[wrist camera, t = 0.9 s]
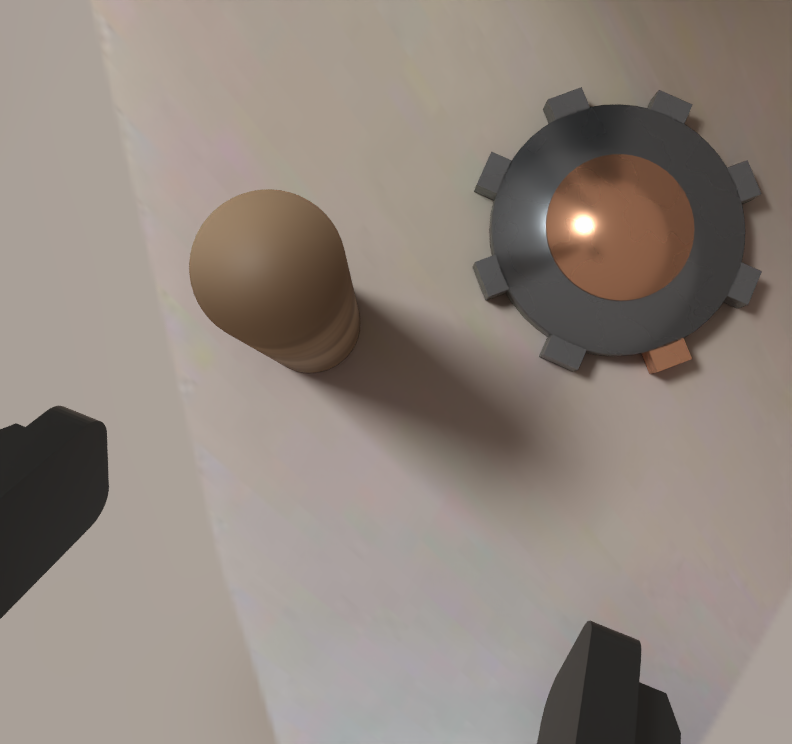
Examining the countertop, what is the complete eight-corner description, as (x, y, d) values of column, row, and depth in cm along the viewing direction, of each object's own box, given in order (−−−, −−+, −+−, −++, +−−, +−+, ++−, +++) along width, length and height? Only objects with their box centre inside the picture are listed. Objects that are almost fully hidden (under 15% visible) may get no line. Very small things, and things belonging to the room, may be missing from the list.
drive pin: (246, 294, 33) (167, 221, 21) (339, 259, 33) (313, 167, 21) (280, 387, 33) (220, 366, 21) (374, 352, 33) (368, 311, 21)
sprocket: (427, 151, 34) (428, 141, 32) (689, 55, 34) (700, 42, 33) (531, 418, 33) (537, 418, 32) (798, 316, 33) (813, 312, 32)
